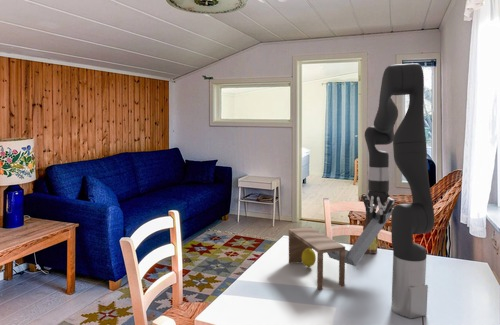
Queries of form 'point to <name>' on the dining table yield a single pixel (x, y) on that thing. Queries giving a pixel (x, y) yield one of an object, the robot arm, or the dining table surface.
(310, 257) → the lemon
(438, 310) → the dining table surface
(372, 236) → the crook tool
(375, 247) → the sauce bottle
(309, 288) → the dining table surface
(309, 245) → the small wooden stool
